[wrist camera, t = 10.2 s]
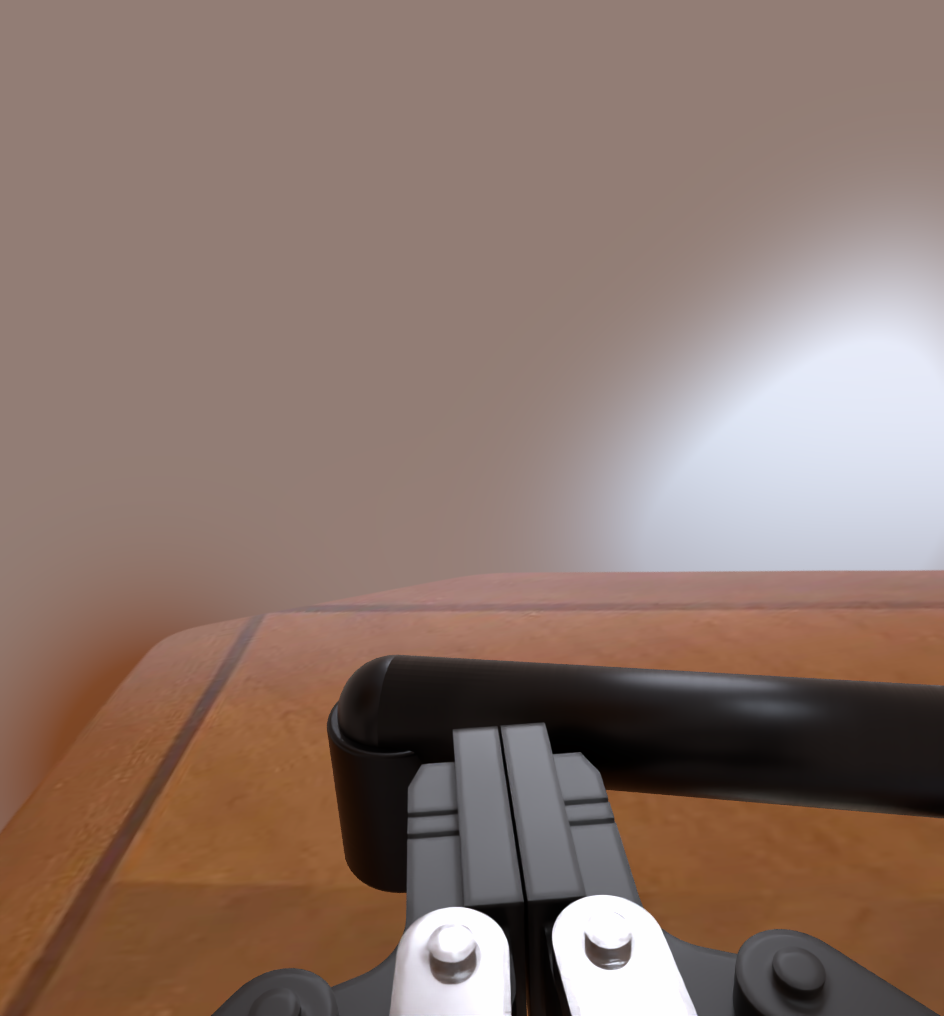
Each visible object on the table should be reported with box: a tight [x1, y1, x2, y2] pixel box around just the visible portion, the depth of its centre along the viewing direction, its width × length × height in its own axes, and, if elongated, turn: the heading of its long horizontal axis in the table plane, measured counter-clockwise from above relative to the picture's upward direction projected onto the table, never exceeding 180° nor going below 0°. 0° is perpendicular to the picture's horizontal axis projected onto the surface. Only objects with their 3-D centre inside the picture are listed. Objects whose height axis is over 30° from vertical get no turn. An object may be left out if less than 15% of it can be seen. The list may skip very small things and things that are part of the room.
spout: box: [327, 655, 944, 893], centre depth 14 cm, size 16×4×5 cm, turn 79°
